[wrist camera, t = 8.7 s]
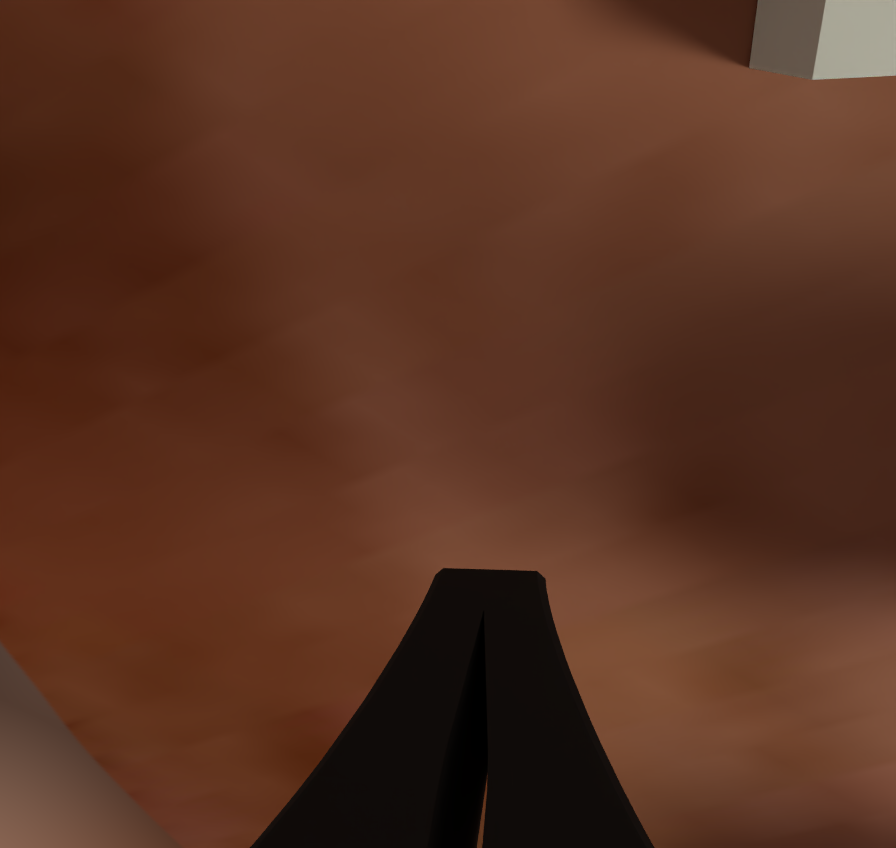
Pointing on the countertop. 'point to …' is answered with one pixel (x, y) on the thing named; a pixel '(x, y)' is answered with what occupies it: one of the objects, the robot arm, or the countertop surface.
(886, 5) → the socket block
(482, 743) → the robot arm
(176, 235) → the countertop surface
